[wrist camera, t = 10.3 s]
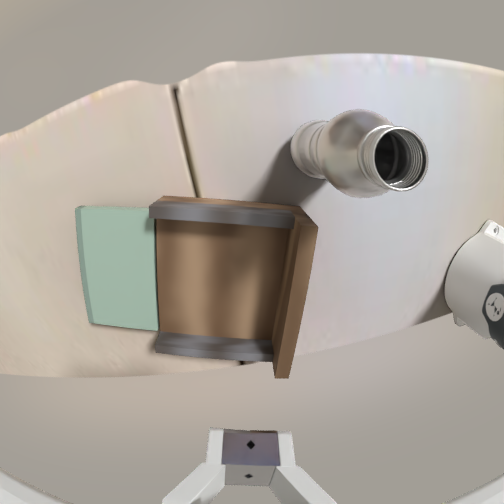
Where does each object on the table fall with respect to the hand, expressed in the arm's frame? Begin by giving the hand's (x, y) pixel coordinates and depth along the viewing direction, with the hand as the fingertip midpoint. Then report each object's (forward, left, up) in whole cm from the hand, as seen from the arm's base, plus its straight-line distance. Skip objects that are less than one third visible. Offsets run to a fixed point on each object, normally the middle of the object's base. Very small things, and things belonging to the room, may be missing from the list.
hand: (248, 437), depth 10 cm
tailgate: (+10, +6, -25) cm, 27 cm away
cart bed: (+2, +6, -28) cm, 28 cm away
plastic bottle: (-7, -10, -28) cm, 31 cm away
